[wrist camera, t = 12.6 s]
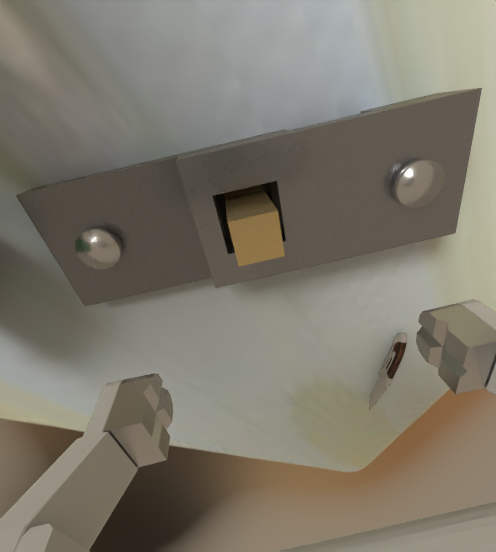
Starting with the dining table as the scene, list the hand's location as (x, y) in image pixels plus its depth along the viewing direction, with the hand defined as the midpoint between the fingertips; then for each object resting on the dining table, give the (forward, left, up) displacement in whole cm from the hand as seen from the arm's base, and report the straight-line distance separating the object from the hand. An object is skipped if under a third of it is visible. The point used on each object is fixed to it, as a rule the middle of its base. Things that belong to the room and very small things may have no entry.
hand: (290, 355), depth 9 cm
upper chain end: (+6, 0, -18) cm, 19 cm away
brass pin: (0, 0, -18) cm, 18 cm away
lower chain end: (-6, 0, -18) cm, 18 cm away
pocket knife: (+13, -25, -18) cm, 34 cm away
